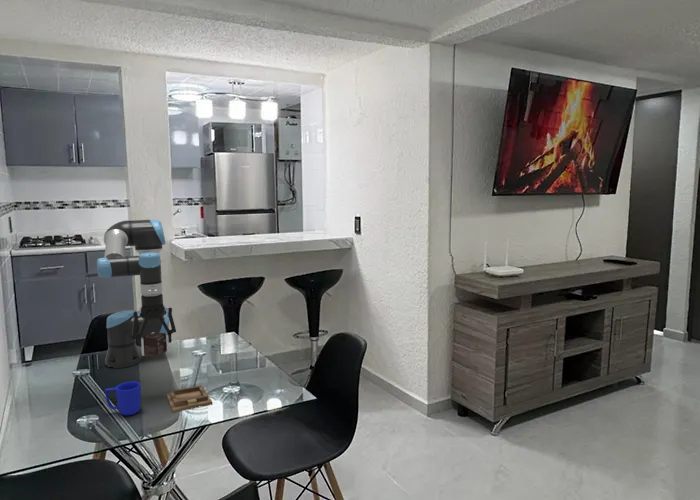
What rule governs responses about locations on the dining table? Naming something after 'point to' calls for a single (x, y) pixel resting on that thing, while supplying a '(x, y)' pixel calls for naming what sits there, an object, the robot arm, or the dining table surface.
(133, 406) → the mug
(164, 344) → the box
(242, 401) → the dining table surface
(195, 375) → the dining table surface
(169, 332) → the robot arm
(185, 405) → the brown tray
